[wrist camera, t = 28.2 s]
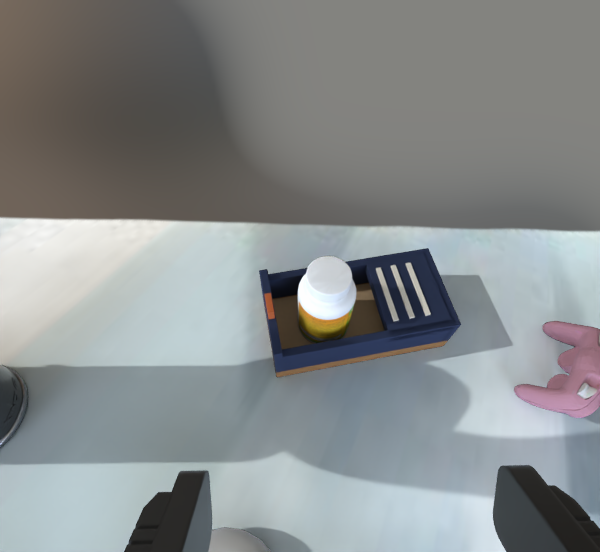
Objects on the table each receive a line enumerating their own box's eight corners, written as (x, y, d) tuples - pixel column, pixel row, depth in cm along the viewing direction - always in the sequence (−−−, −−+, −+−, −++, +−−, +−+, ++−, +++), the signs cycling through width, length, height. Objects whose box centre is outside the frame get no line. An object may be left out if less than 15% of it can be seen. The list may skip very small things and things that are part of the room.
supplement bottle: (352, 344, 42) (366, 299, 34) (300, 349, 42) (301, 305, 34) (344, 298, 45) (355, 246, 37) (295, 302, 45) (295, 251, 37)
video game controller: (536, 421, 42) (609, 428, 35) (506, 392, 41) (575, 393, 35) (567, 346, 46) (637, 340, 39) (540, 318, 45) (607, 308, 39)
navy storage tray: (276, 377, 42) (272, 349, 35) (263, 300, 47) (258, 262, 40) (443, 346, 44) (470, 313, 37) (415, 275, 49) (434, 234, 42)
